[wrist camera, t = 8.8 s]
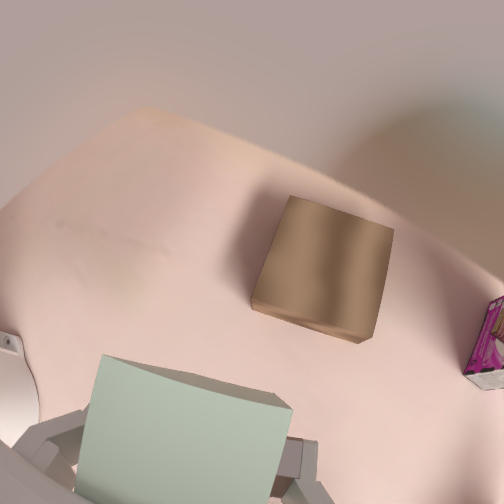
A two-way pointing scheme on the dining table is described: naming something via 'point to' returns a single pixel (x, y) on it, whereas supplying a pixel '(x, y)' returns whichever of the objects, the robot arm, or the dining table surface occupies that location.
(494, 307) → the candy bar box
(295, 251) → the walnut block
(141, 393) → the sage pillar
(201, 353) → the dining table surface
